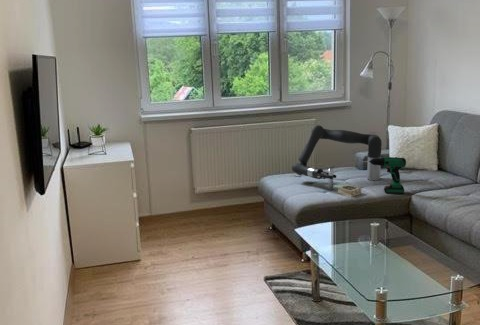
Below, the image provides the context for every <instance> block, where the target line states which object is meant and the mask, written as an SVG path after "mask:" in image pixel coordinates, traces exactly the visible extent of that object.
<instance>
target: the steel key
mask: <svg viewBox="0 0 480 325" xmlns="http://www.w3.org/2000/svg"><path fill="white" fill-rule="evenodd" d="M334 168H335V165H330V166H328V167H327V170H328V171H329V175H330V176H333V174H334ZM333 186H334V178H333V179H328V190H334V187H333Z"/></svg>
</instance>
